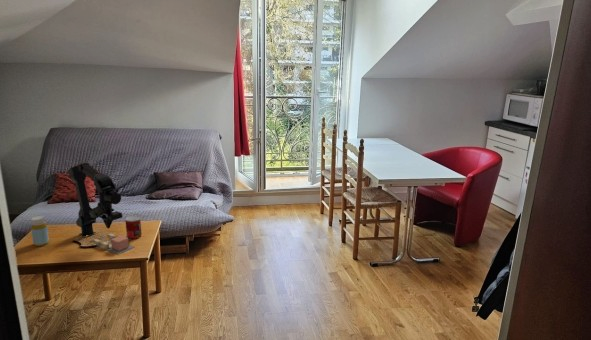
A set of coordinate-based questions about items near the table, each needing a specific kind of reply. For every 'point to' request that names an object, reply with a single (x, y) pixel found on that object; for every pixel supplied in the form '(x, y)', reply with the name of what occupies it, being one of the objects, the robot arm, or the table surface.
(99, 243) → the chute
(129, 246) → the mat
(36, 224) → the bottle
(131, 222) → the canned food
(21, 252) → the table surface
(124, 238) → the block
